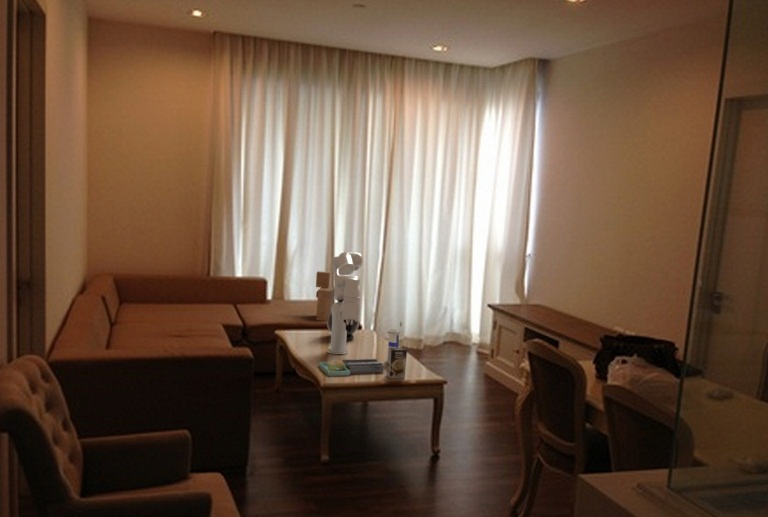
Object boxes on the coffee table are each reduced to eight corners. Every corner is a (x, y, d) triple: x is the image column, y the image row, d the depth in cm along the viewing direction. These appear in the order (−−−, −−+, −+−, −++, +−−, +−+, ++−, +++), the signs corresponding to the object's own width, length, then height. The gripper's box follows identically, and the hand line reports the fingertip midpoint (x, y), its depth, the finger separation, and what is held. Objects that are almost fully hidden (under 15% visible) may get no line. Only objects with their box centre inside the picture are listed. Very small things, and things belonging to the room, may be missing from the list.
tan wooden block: (338, 359, 383) (343, 363, 384) (334, 365, 383) (340, 369, 384) (340, 361, 379) (346, 365, 381) (336, 367, 379) (342, 371, 380)
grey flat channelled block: (341, 367, 390) (342, 358, 390) (374, 365, 398) (375, 357, 397) (349, 373, 377) (350, 365, 377) (383, 372, 385) (383, 364, 384)
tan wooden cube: (334, 362, 383) (334, 369, 383) (327, 362, 381) (327, 369, 382) (336, 364, 379) (336, 371, 379) (329, 364, 377) (329, 371, 378)
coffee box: (389, 378, 374) (391, 350, 372) (386, 375, 380) (388, 347, 378) (405, 378, 376) (407, 350, 375) (401, 375, 382) (403, 347, 381)
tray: (318, 366, 388) (318, 362, 388) (338, 365, 393) (339, 361, 393) (328, 376, 370) (329, 371, 370) (349, 375, 374) (350, 371, 374)
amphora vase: (356, 342, 454) (359, 301, 451) (324, 340, 454) (327, 299, 451) (358, 335, 475) (361, 296, 472) (327, 333, 475) (330, 294, 472)
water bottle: (390, 359, 415) (393, 319, 413) (401, 362, 410) (404, 321, 407) (382, 361, 409) (385, 320, 406) (393, 364, 404) (396, 323, 401)
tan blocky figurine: (315, 315, 538) (318, 271, 534) (333, 316, 537) (335, 272, 533) (310, 319, 519) (313, 274, 516) (329, 321, 518) (332, 275, 514)
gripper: (360, 298, 388) (358, 329, 390) (335, 298, 383) (333, 329, 385) (365, 300, 381) (362, 332, 383) (339, 300, 376) (337, 333, 378)
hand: (348, 331), depth 384 cm, fingers closed
